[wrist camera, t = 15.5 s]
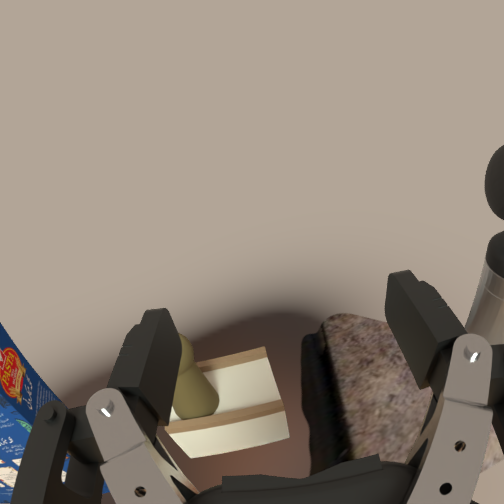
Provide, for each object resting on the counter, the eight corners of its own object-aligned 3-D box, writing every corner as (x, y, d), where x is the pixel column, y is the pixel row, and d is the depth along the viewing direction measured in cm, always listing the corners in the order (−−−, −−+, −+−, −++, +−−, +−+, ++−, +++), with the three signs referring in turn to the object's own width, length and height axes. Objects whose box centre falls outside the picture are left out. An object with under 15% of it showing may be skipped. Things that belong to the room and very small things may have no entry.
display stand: (272, 384, 43) (264, 346, 39) (289, 437, 35) (283, 405, 30) (186, 403, 42) (164, 368, 38) (190, 458, 33) (164, 429, 29)
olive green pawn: (164, 408, 33) (125, 350, 28) (193, 377, 37) (164, 317, 32) (199, 430, 30) (162, 374, 25) (229, 395, 34) (203, 333, 29)
